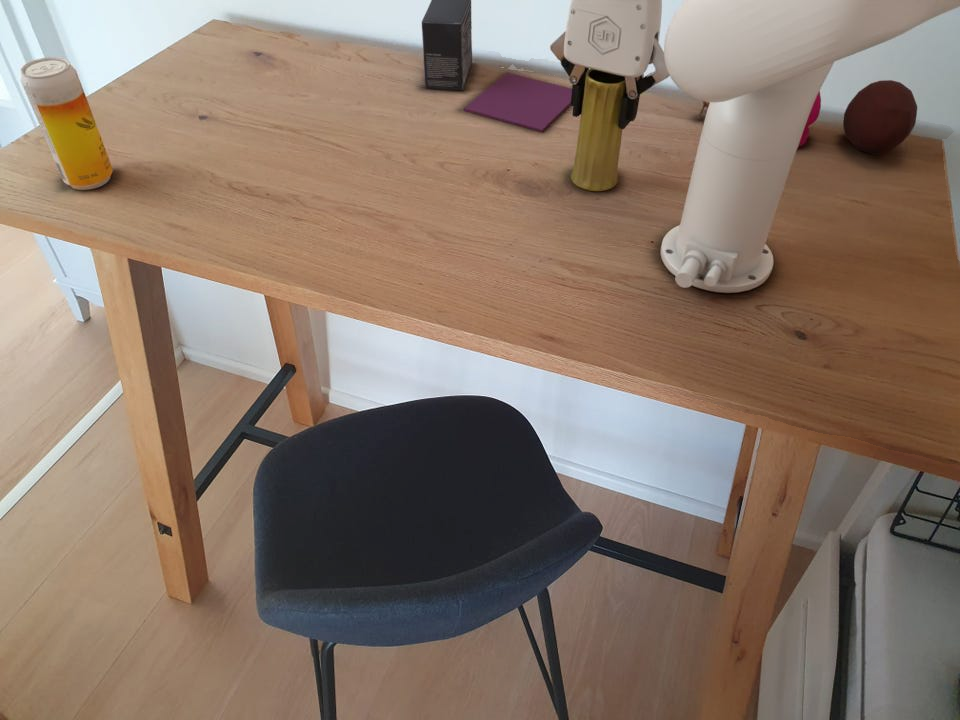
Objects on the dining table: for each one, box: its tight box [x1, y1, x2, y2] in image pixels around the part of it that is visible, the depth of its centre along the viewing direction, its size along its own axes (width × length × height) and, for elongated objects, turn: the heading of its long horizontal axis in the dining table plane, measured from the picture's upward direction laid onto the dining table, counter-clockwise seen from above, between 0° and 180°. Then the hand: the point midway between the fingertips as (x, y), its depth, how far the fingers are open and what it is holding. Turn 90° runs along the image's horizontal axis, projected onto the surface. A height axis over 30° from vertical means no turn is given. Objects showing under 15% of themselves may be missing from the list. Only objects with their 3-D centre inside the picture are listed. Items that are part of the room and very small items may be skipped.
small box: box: [421, 0, 473, 92], centre depth 119 cm, size 11×6×10 cm, turn 173°
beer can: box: [20, 56, 114, 191], centre depth 94 cm, size 6×6×15 cm
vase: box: [570, 68, 627, 192], centre depth 96 cm, size 6×6×14 cm
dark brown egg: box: [842, 79, 918, 154], centre depth 104 cm, size 9×12×9 cm
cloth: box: [463, 72, 572, 133], centre depth 116 cm, size 14×13×1 cm
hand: (602, 116), depth 95 cm, fingers closed on vase, 5 cm apart
